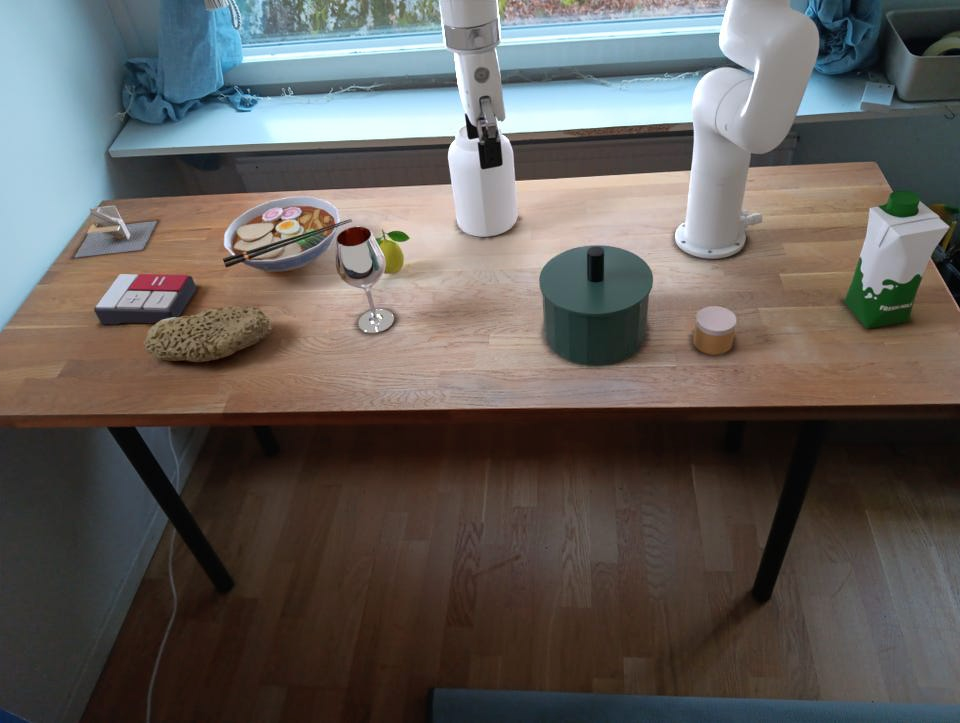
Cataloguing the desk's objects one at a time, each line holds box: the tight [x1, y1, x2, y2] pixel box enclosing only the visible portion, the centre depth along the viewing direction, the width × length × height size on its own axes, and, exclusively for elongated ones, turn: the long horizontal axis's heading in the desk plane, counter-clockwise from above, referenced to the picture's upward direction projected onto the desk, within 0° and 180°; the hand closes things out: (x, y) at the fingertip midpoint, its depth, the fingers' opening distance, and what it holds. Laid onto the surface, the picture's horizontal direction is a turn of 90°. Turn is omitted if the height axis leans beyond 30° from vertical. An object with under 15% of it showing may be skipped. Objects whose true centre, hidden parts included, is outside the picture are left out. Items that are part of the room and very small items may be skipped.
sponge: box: [143, 305, 272, 363], centre depth 125 cm, size 13×8×20 cm
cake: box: [692, 305, 738, 356], centre depth 114 cm, size 6×6×5 cm
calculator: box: [93, 273, 197, 326], centre depth 137 cm, size 11×4×15 cm
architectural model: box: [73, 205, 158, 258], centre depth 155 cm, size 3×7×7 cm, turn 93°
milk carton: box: [843, 189, 951, 330], centre depth 110 cm, size 9×9×20 cm
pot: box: [541, 293, 650, 367], centre depth 117 cm, size 17×17×11 cm
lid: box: [538, 244, 654, 317], centre depth 112 cm, size 18×18×6 cm
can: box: [447, 124, 519, 238], centre depth 142 cm, size 12×12×20 cm
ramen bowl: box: [222, 195, 352, 272], centre depth 143 cm, size 25×23×8 cm
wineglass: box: [335, 225, 395, 334], centre depth 122 cm, size 8×8×18 cm
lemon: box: [375, 229, 411, 275], centre depth 135 cm, size 7×6×10 cm
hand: (484, 151), depth 107 cm, fingers open, 9 cm apart
